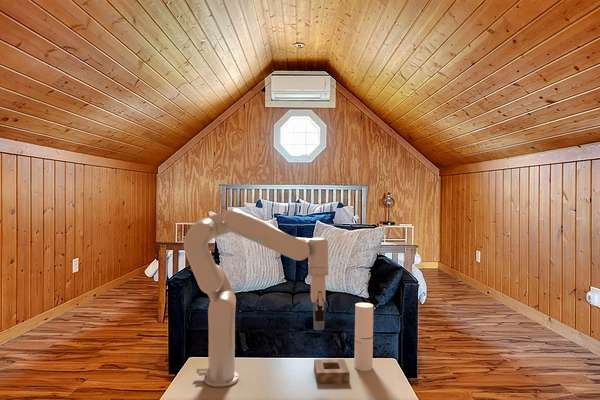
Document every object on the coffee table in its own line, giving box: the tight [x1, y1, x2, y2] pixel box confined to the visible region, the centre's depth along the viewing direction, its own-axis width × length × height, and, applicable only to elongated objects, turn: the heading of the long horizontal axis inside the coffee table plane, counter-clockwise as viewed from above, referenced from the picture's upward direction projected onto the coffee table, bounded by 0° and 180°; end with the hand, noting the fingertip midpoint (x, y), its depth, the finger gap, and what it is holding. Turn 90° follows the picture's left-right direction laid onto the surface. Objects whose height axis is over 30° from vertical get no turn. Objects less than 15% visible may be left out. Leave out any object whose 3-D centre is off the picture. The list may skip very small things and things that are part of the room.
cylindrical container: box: [353, 302, 374, 372], centre depth 168 cm, size 7×7×25 cm
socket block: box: [313, 358, 351, 385], centre depth 159 cm, size 12×12×4 cm
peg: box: [312, 300, 325, 331], centre depth 158 cm, size 4×4×12 cm
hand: (318, 318), depth 158 cm, fingers closed on peg, 4 cm apart
